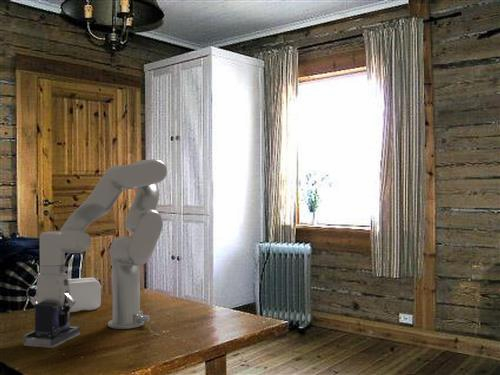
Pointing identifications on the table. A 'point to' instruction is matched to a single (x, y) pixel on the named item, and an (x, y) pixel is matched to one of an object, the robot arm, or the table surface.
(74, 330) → the rail seat
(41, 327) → the small box
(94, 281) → the cable organizer
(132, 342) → the table surface
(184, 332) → the table surface
